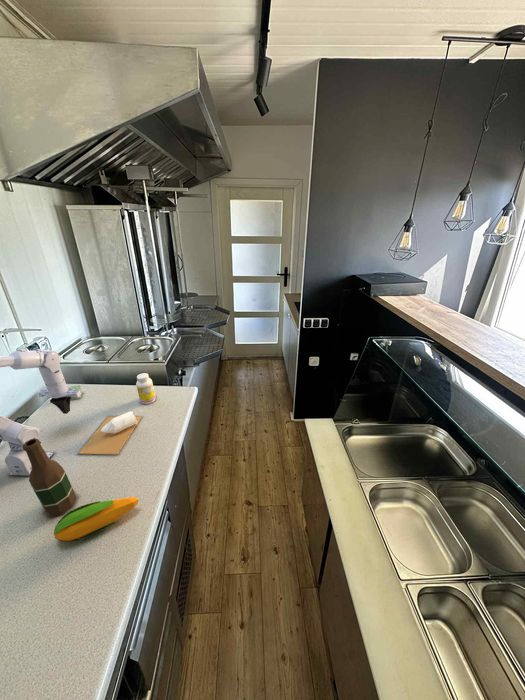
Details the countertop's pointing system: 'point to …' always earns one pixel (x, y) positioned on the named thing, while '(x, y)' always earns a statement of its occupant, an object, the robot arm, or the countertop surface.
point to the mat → (107, 440)
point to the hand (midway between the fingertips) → (66, 412)
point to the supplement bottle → (145, 388)
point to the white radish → (120, 423)
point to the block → (76, 389)
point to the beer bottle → (49, 480)
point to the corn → (92, 518)
